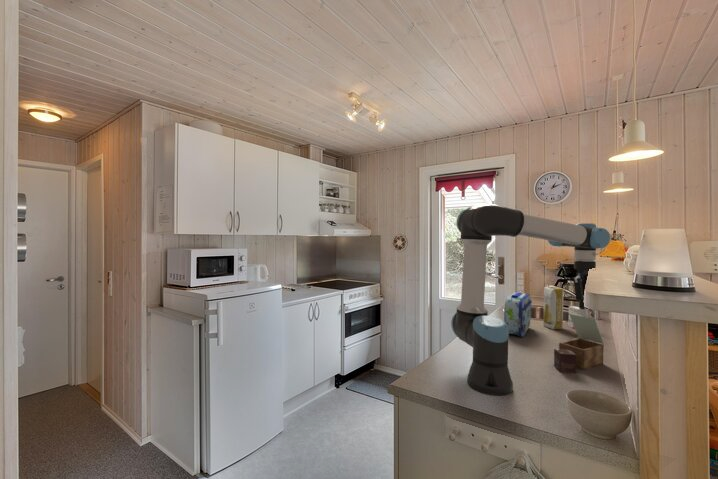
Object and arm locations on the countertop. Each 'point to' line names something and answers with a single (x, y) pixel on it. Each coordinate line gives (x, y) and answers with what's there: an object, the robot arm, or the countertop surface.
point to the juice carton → (553, 307)
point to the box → (565, 360)
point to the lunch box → (518, 313)
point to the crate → (584, 352)
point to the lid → (586, 328)
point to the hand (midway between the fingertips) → (583, 316)
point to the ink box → (575, 311)
